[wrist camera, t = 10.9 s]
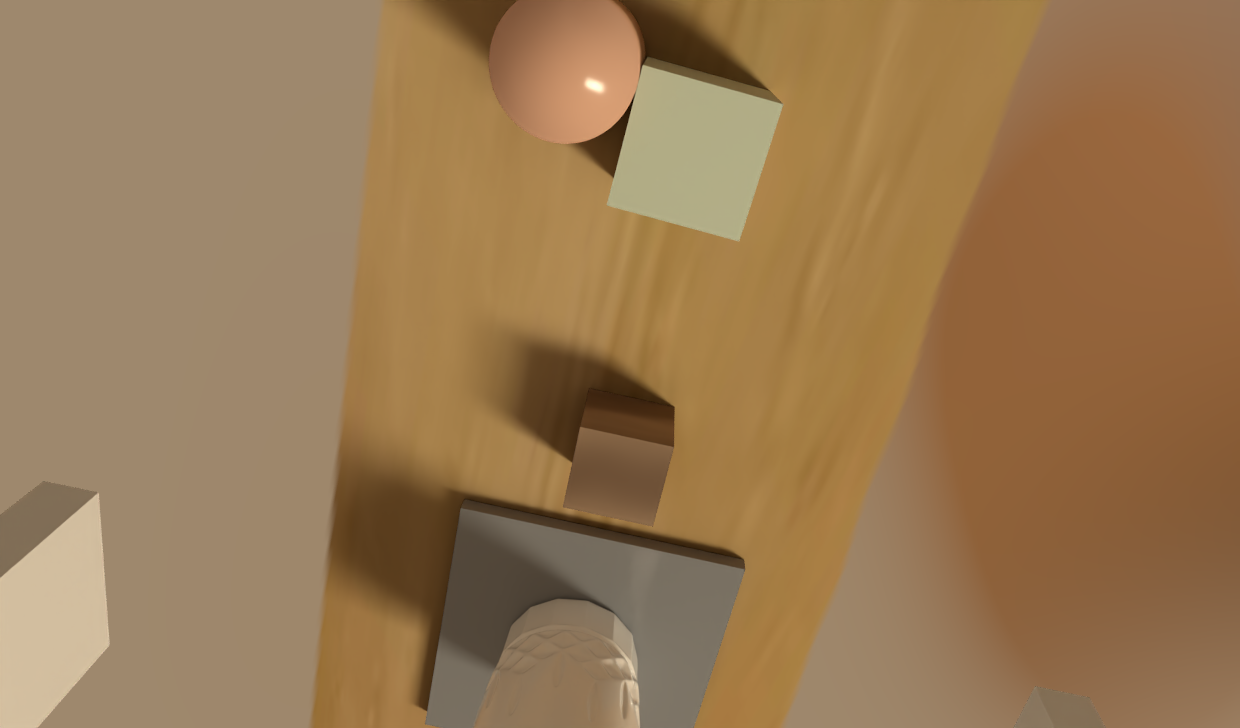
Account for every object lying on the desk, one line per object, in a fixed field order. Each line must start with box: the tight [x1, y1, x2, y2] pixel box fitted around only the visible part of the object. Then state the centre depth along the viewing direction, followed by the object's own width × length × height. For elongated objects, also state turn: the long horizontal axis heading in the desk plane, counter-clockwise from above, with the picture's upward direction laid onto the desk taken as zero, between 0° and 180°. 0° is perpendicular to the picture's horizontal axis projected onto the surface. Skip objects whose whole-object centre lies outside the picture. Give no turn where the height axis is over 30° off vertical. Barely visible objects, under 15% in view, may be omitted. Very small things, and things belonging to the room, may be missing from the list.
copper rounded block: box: [489, 0, 646, 144], centre depth 32 cm, size 5×5×6 cm
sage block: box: [607, 57, 783, 241], centre depth 33 cm, size 5×5×5 cm
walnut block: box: [563, 388, 674, 526], centre depth 39 cm, size 4×4×4 cm
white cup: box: [472, 598, 640, 728], centre depth 40 cm, size 8×8×10 cm
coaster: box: [425, 499, 745, 728], centre depth 45 cm, size 14×14×1 cm
